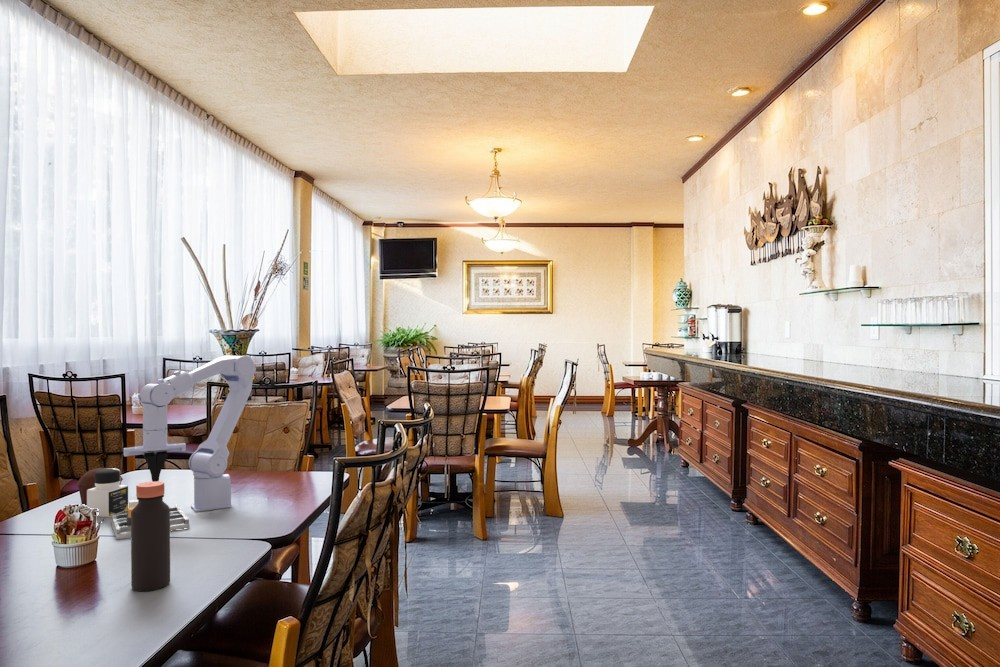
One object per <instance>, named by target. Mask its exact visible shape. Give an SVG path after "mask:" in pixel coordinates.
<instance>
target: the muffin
mask: <svg viewBox="0 0 1000 667" xmlns="http://www.w3.org/2000/svg"><path fill="white" fill-rule="evenodd" d="M109 468H110V467H109ZM109 468H108V467H96V468H93V469H90V470H87V471H86V472H85V473H84V474H83V475H81V477H80V478H79V479H78V481H77V482H76V484H77V486H78V491H79V496H80V503H81V505H82V504H85V505H87V490H88V489H92V488H95V487H96V486H95V473H96V472H97V471H99V470H101V469H109ZM123 480H124V478H123V477H122V476H121V475H120V484H119V485H122V481H123Z"/></svg>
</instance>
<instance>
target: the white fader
mask: <svg viewBox="0 0 1000 667" xmlns="http://www.w3.org/2000/svg"><path fill="white" fill-rule="evenodd" d="M137 504H138V500H137V499H131V500H128V508H132V507H136V506H137ZM128 508H127V511H126V513H127V516H128Z"/></svg>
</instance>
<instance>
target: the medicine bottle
mask: <svg viewBox="0 0 1000 667" xmlns="http://www.w3.org/2000/svg"><path fill="white" fill-rule="evenodd" d="M120 476H121V470H120V469H118V468H110V467H109V469H101V470H99V471H97V472H96V473H95V486H96V487H95V488H92V489H88V490H87V506H88V507H90V508H98V509H99V515H98V516H97V517H99V518H100V517H101V518H111V514H114V513H115V515H116V514H117V515H118V514H123V513H124V511H125V512H127V508H129V485H127V484H121V485H119V484H120Z"/></svg>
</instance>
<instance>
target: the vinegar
mask: <svg viewBox="0 0 1000 667" xmlns="http://www.w3.org/2000/svg"><path fill="white" fill-rule="evenodd" d="M135 486H136V500H138V504H137V506H136V507H135V508H134V509H133V510H132V511H131V538H130V543H131V544H130V546H131V547H130V552H131V553H130V557H131V558H130V559H131V560H130V562H131V564H130V567H131V568H130V569H131V572H130V575H131V578H130V580H131V589H132V590H134V591H135V592H151V591H152V592H153V591H156V590H160V589H163V588H165V587H166V586H168V585H169V584H170V583H171V531H170V506H169V505H168V504H167V503H166V502H165V501H163V499H164V497H165V482H164V481H160V480H159V481H154V482H153V481H146V482H140V483H138V484H136V485H135Z"/></svg>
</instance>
